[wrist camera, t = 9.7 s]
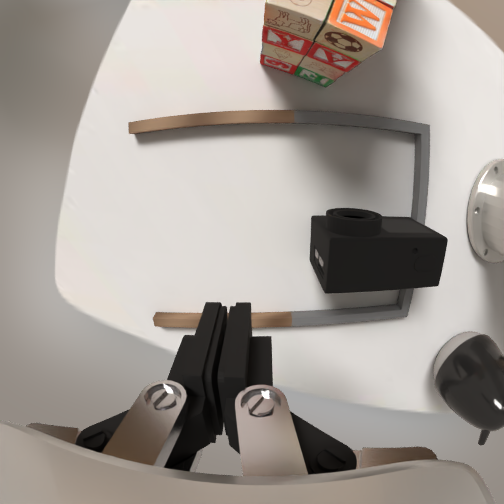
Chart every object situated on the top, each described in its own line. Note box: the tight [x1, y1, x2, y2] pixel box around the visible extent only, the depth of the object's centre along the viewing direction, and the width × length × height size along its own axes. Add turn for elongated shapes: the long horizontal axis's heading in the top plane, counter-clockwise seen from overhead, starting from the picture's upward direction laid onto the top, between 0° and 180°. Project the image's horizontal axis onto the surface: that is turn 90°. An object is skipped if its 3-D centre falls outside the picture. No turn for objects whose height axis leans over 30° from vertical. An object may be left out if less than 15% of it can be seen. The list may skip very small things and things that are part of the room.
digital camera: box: [310, 208, 447, 293], centre depth 23 cm, size 10×5×7 cm, turn 91°
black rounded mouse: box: [433, 331, 504, 445], centre depth 25 cm, size 10×10×15 cm
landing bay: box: [291, 110, 430, 326], centre depth 25 cm, size 13×20×1 cm, turn 2°
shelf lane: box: [129, 110, 295, 328], centre depth 26 cm, size 14×20×1 cm
